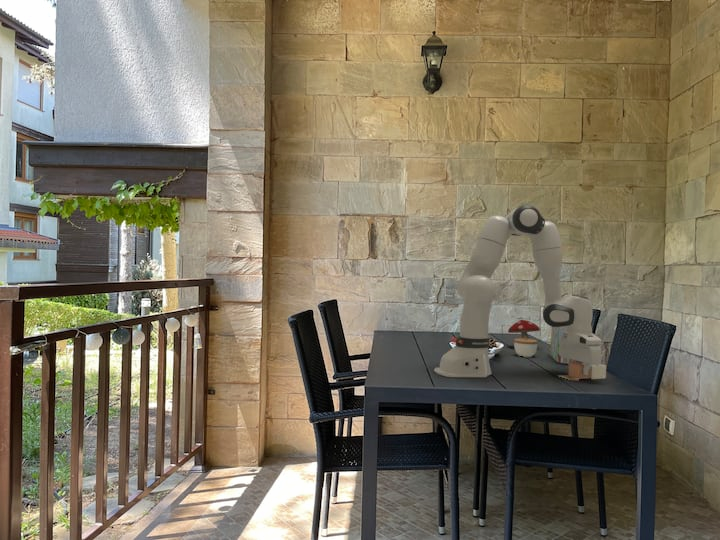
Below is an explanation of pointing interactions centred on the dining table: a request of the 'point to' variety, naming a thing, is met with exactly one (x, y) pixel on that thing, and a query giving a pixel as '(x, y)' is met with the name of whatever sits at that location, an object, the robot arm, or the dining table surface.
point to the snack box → (557, 343)
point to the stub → (577, 370)
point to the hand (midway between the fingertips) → (578, 372)
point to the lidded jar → (525, 347)
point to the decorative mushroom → (523, 328)
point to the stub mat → (568, 377)
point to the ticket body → (597, 371)
